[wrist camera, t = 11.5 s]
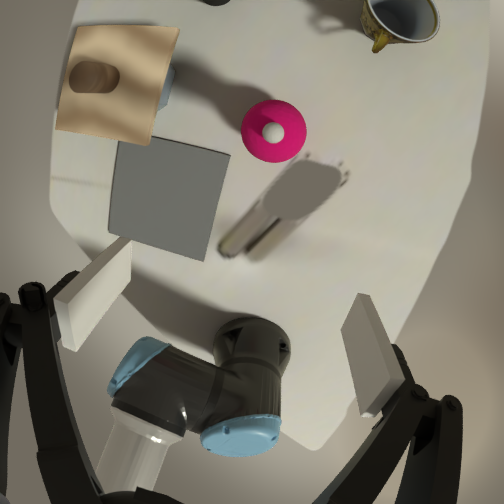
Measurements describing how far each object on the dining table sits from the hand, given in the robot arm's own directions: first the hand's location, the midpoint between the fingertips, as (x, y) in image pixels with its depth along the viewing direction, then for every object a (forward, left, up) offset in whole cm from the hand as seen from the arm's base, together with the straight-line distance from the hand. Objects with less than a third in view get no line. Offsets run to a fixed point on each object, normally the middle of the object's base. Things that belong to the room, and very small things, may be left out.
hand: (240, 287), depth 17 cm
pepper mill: (+8, +1, -30) cm, 31 cm away
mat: (-7, +15, -30) cm, 34 cm away
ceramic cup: (+28, -9, -30) cm, 42 cm away
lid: (+10, +24, -23) cm, 35 cm away
